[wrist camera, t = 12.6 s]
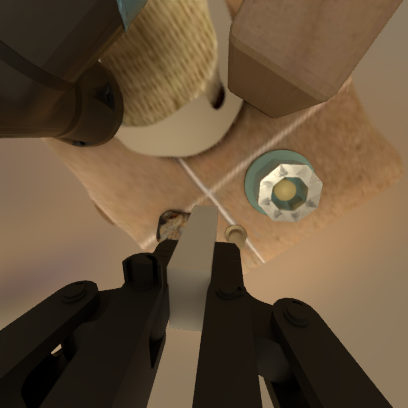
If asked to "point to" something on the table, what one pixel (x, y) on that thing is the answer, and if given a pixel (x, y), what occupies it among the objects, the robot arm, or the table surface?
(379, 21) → the wooden block
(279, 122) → the table surface
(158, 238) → the rock
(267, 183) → the collar ring
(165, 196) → the table surface
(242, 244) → the stand
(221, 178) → the table surface
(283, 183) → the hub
